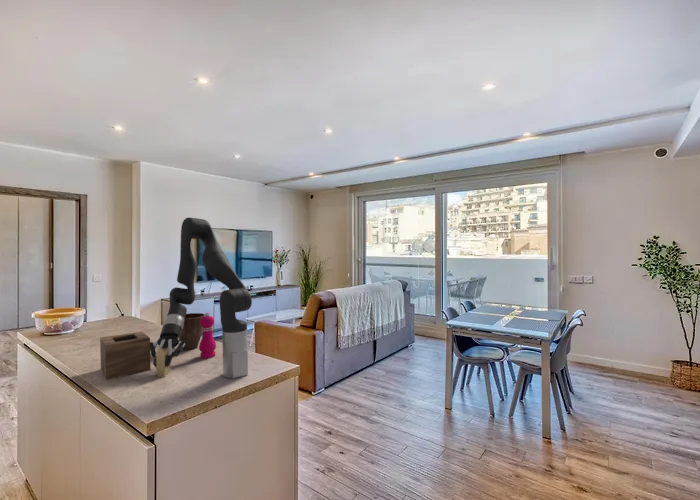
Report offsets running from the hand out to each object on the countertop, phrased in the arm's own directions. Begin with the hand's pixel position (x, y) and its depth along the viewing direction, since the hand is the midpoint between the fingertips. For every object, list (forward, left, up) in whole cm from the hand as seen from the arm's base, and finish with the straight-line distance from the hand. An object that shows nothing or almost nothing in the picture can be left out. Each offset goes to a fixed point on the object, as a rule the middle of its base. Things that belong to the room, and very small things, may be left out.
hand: (161, 366), depth 134 cm
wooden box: (+19, +9, -4) cm, 21 cm away
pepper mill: (+13, -22, -4) cm, 26 cm away
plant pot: (+33, -20, -4) cm, 39 cm away
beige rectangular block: (+2, -1, -4) cm, 5 cm away
